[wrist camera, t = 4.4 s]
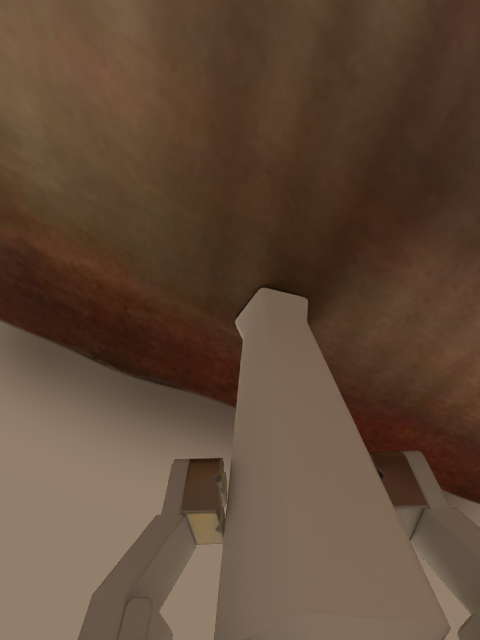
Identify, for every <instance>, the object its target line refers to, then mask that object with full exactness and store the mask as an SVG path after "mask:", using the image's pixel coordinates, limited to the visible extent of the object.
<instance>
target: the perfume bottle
mask: <svg viewBox="0 0 480 640" xmlns="http://www.w3.org/2000/svg"><path fill="white" fill-rule="evenodd" d="M307 312H308V300H307V299H306V298H304V297H301V296H297V295H293V294H289V293H285V292H280V291H276V290H272V289H268V288H261V289H259V290H258V291H257V292H256V294H255V295H254V296H253V298H252V299H251V300H250V302H249V303H248V304H247V306H246V307H245V308H244V309H243V311H242V312H241V313H240V315H239V316H238V317H237V319H236V320H235V324H236V326H237V328H238V330H239V333H240V335H241V337H242V339H243V346H242V356H241V366H240V376H239V387H238V397H237V407H236V418H235V428H234V439H233V449H232V459H231V470H230V480H229V490H228V500H227V510H226V521H225V531H224V541H223V553H222V563H221V572H220V583H219V593H218V604H217V614H216V624H215V634H214V640H444V639H445V637H446V635H447V634H448V633H449V631H450V629H451V628H450V625H449V623H448V621H447V619H446V617H445V615H444V613H443V611H442V609H441V606H440V604H439V602H438V600H437V598H436V596H435V594H434V591H433V589H432V587H431V585H430V583H429V581H428V579H427V577H426V574H425V572H424V570H423V568H422V566H421V564H420V562H419V560H418V558H417V555H416V553H415V551H414V549H413V547H412V545H411V543H410V540H409V538H408V536H407V534H406V532H405V530H404V528H403V526H402V523H401V521H400V519H399V517H398V515H397V513H396V511H395V509H394V506H393V504H392V502H391V500H390V498H389V496H388V494H387V492H386V489H385V487H384V485H383V483H382V481H381V479H380V477H379V474H378V472H377V470H376V468H375V466H374V464H373V462H372V460H371V457H370V455H369V453H368V451H367V449H366V447H365V445H364V443H363V440H362V438H361V436H360V434H359V432H358V430H357V428H356V426H355V423H354V421H353V419H352V417H351V415H350V413H349V411H348V409H347V406H346V404H345V402H344V400H343V398H342V396H341V394H340V392H339V389H338V387H337V385H336V383H335V381H334V379H333V377H332V375H331V372H330V370H329V368H328V366H327V364H326V362H325V360H324V358H323V355H322V353H321V351H320V349H319V347H318V345H317V343H316V341H315V338H314V336H313V334H312V332H311V330H310V328H309V326H308V324H307Z"/></svg>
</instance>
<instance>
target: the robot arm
mask: <svg viewBox="0 0 480 640" xmlns="http://www.w3.org/2000/svg"><path fill="white" fill-rule="evenodd" d="M369 455H370V457H371V460H372V462H373V464H374V466H375V468H376V470H377V472H378V474H379V477H380V479H381V481H382V483H383V485H384V487H385V489H386V492H387V494H388V496H389V498H390V500H391V502H392V504H393V506H394V509H395V511H396V513H397V515H398V517H399V519H400V521H401V523H402V526H403V528H404V530H405V532H406V534H407V536H408V538H409V540H410V543H411V545H412V546H413V547H414V549H415V550H416V551H417V552H418V553H419V554H420V556H421V557H422V558H423V559H424V560H425V561H426V562H427V564H428V565H429V566H430V567H431V568H432V569H433V571H434V572H435V573H436V574H437V575H438V576H439V577H440V579H441V580H442V581H443V582H444V583H445V585H446V586H447V587H448V588H449V589H450V590H451V592H452V593H453V594H454V595H455V596H456V597H457V599H458V600H459V601H460V602H461V603H462V604H463V605H464V606H465V608H466V609H467V610H468V611H469V612H470V613H471V616H470V617H469V618H468V619H467V620H466V621H465V623H464V624H463V625H462V626H461V627H460V629H459V631H458V637H459V639H460V640H480V528H479V527H478V526H477V525H476V524H475V523H473V522H472V521H471V520H470V519H469V518H468V517H466V516H465V515H464V514H463V513H462V512H460V511H459V510H458V509H457V508H450V506H449V504H448V502H447V500H446V498H445V496H444V494H443V492H442V490H441V488H440V486H439V484H438V482H437V481H436V479H435V477H434V475H433V473H432V471H431V469H430V467H429V465H428V463H427V461H426V459H425V457H424V455H423V454H422V453H421V452H420V451H392V452H373V453H369ZM226 504H227V480H226V473H225V472H224V463H223V458H209V459H207V458H206V459H175V460H174V462H173V464H172V467H171V472H170V476H169V481H168V486H167V490H166V495H165V500H164V505H163V510H162V514H161V515H156V516H155V517H154V519H153V520H152V521H151V522H150V524H149V525H148V526H147V528H146V529H145V530H144V531H143V533H142V534H141V535H140V536H139V538H138V539H137V540H136V541H135V543H134V544H133V545H132V546H131V547H130V549H129V550H128V551H127V553H126V554H125V555H124V556H123V557H122V559H121V560H120V561H119V562H118V564H117V565H116V566H115V568H114V569H113V570H112V571H111V572H110V574H109V575H108V576H107V577H106V579H105V580H104V581H103V582H102V584H101V585H100V586H99V587H98V589H97V590H96V591H95V592H94V594H93V595H92V598H91V601H90V604H89V607H88V610H87V613H86V616H85V619H84V622H83V625H82V628H81V632H80V635H79V638H78V640H172V637H173V633H172V631H171V629H170V628H169V626H168V624H167V623H166V621H165V620H164V618H163V617H162V616H161V614H160V613H159V611H160V609H161V607H162V605H163V604H164V602H165V600H166V598H167V597H168V595H169V593H170V592H171V590H172V588H173V586H174V585H175V583H176V581H177V580H178V578H179V576H180V574H181V573H182V571H183V569H184V568H185V566H186V564H187V562H188V561H189V559H190V557H191V556H192V554H193V552H194V550H195V549H196V545H203V544H223V541H224V531H225V521H226V518H225V513H224V507H225V505H226Z"/></svg>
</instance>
